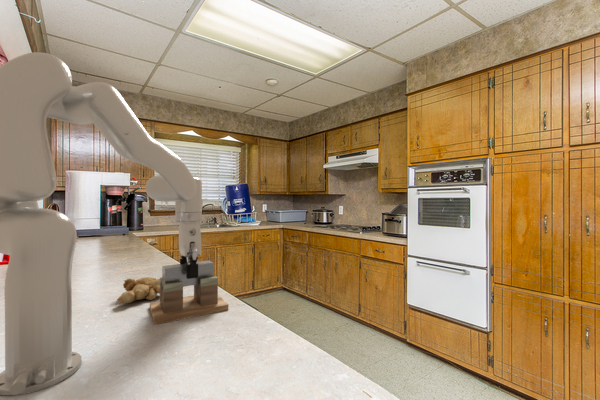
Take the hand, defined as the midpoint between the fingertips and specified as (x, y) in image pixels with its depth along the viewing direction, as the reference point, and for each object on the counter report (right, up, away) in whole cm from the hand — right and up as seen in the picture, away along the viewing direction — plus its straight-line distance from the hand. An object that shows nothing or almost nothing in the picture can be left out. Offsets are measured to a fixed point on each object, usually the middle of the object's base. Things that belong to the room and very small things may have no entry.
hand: (188, 274), depth 90 cm
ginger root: (-19, -11, +10) cm, 24 cm away
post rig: (0, -10, 0) cm, 10 cm away
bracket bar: (0, -3, 0) cm, 3 cm away
